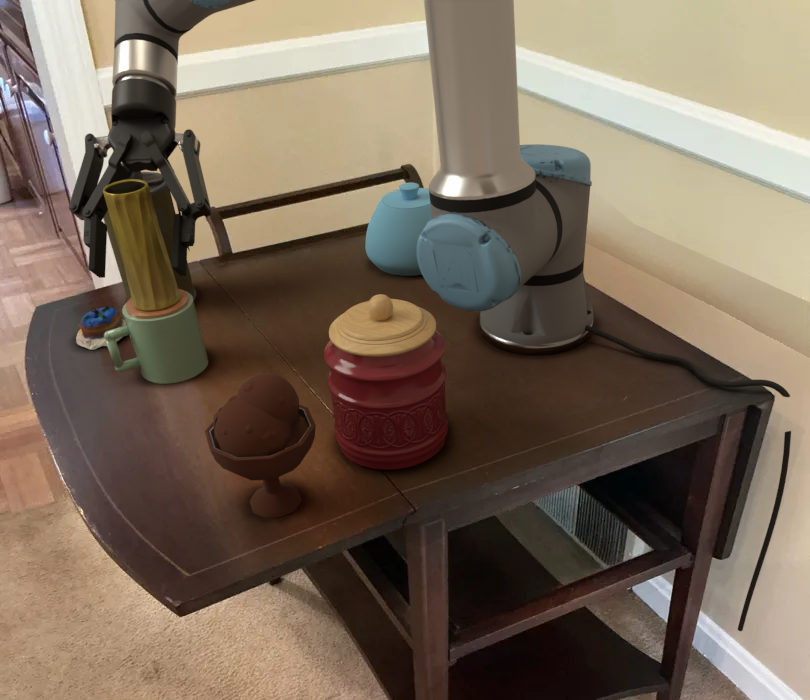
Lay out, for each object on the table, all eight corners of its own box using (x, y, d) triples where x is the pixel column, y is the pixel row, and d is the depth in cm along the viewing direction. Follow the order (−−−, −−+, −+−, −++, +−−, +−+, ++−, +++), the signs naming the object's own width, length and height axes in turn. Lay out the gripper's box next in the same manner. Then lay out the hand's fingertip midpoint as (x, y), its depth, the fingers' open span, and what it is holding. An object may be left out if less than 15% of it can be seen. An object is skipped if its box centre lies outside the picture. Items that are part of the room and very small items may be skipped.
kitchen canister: (315, 437, 99) (292, 296, 87) (403, 396, 104) (392, 258, 93) (380, 488, 91) (364, 340, 79) (472, 440, 96) (469, 295, 85)
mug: (217, 370, 112) (202, 304, 106) (129, 398, 108) (107, 332, 102) (195, 343, 118) (179, 279, 112) (111, 369, 114) (89, 304, 108)
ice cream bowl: (270, 460, 96) (245, 341, 86) (347, 491, 91) (329, 369, 81) (203, 511, 90) (168, 389, 80) (281, 548, 85) (253, 422, 75)
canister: (134, 322, 125) (92, 183, 111) (123, 295, 132) (82, 161, 119) (206, 304, 128) (174, 167, 114) (191, 279, 135) (158, 147, 122)
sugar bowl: (375, 285, 129) (368, 209, 121) (359, 248, 140) (352, 175, 132) (471, 271, 130) (470, 194, 123) (447, 234, 141) (445, 162, 134)
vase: (169, 312, 105) (138, 196, 96) (124, 311, 106) (89, 195, 97) (188, 290, 109) (160, 177, 100) (145, 289, 111) (112, 177, 101)
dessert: (109, 312, 126) (110, 288, 121) (138, 345, 126) (140, 322, 120) (63, 337, 122) (62, 314, 117) (93, 371, 122) (93, 349, 117)
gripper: (242, 106, 106) (237, 281, 104) (73, 114, 108) (66, 285, 107) (223, 70, 98) (216, 258, 97) (42, 79, 101) (33, 262, 100)
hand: (137, 272), depth 102 cm, fingers open, 10 cm apart
